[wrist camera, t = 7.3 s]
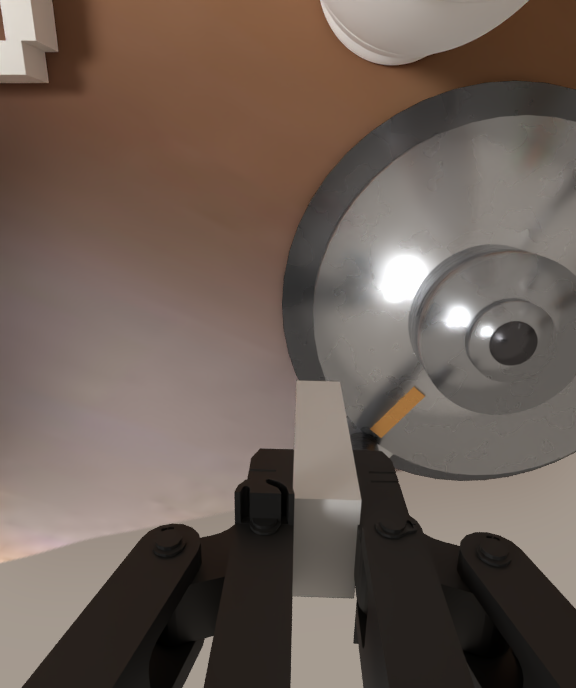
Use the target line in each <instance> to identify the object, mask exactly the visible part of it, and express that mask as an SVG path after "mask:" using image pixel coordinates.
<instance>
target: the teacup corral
mask: <svg viewBox="0 0 576 688" xmlns="http://www.w3.org/2000/svg"><path fill="white" fill-rule="evenodd" d="M0 4H1V11H2V17H3V24H4V30H5V37H6V41H0V83H49V80H48V72H47V65H46V57H45V52H59V51H58V43H57V35H56V27H55V19H54V11H53V3H52V0H0Z"/></svg>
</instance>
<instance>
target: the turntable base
mask: <svg viewBox="0 0 576 688" xmlns="http://www.w3.org/2000/svg"><path fill="white" fill-rule="evenodd" d="M520 115H534V116H547V117H557V118H561V119H566V120H570V121H574V122H576V90H575V89H570V88H566V87H562V86H557V85H553V84H549V83H540V82H527V81H504V82H490V83H482V84H477V85H472V86H468V87H463V88H458V89H454V90H451V91H448V92H445V93H442V94H440V95H437V96H434V97H431V98H428V99H426V100H423V101H421V102H419V103H417V104H415V105H414V106H412V107H410V108H408V109H406V110H404V111H402V112H400V113H398V114H396V115H395V116H393V117H392V118H390V119H389V120H387V121H386V122H384V123H383V124H382V125H380V126H379V127H377V128H376V129H374V130H373V131H371V132H370V133H369V134H368V135H366V136H365V137H364V138H363V139H362V140H361V141H360V142H359V143H357V144H356V145H355V146H354V147H353V148H352V149H351V150H350V151H349V152H347V153H346V155H345V156H344V157H343V158H342V159H341V160H340V161H339V163H338V164H337V165H336V166H335V167H334V168H333V170H332V171H331V172H330V173H329V174H328V175H327V177H326V178H325V180H324V181H323V183H322V184H321V186H320V187H319V189H318V190H317V192H316V193H315V195H314V196H313V198H312V199H311V201H310V203H309V205H308V207H307V209H306V211H305V213H304V215H303V217H302V219H301V221H300V223H299V225H298V228H297V231H296V234H295V237H294V239H293V242H292V245H291V248H290V251H289V256H288V261H287V266H286V271H285V275H284V284H283V298H282V310H283V326H284V333H285V338H286V343H287V348H288V353H289V356H290V358H291V361H292V364H293V367H294V370H295V373H296V375H297V377H298V379H299V381H326V379H325V376H324V373H323V370H322V367H321V364H320V361H319V358H318V353H317V348H316V342H315V337H314V318H313V300H314V289H315V281H316V277H317V272H318V268H319V264H320V260H321V257H322V255H323V252H324V249H325V247H326V244H327V241H328V239H329V237H330V235H331V233H332V231H333V229H334V227H335V225H336V223H337V221H338V220H339V218H340V216H341V215H342V213H343V212H344V210H345V209H346V208H347V206H348V205H349V203H350V202H351V200H352V199H353V198H354V196H355V195H356V194H357V193H358V192H359V191H360V190H361V189H362V187H363V186H364V185H365V184H366V183H367V182H368V181H369V180H370V179H371V178H372V177H373V176H374V175H375V174H376V173H377V172H379V171H380V170H381V169H382V168H383V167H384V166H385V165H387V164H388V163H389V162H390V161H392V160H393V159H395V158H396V157H398V156H399V155H401V154H402V153H404V152H405V151H407V150H408V149H409V148H411V147H413V146H415V145H417V144H419V143H421V142H423V141H425V140H427V139H429V138H431V137H433V136H435V135H437V134H440V133H443V132H446V131H449V130H451V129H454V128H457V127H460V126H463V125H466V124H469V123H472V122H477V121H482V120H487V119H492V118H497V117H505V116H520ZM575 452H576V451H575ZM575 452H572V453H570V454H573V453H575ZM570 454H568V455H566V456H564V457H567V456H569V455H570ZM564 457H562V458H560V459H557V460H554V461H552V462H549V463H546V464H544V465H541V466H537V467H533V468H529V469H525V470H521V471H517V472H510V473H503V474H495V475H466V474H454V473H448V472H443V471H438V470H433V469H429V468H426V467H423V466H420V465H417V464H414V463H411V462H409V461H407V460H405V459H403V458H401V457H399V456H396V455H394V454H393V455H392V456H391V457H390V459H391V460H392V462H393V466H394V468H396V469H399V470H402V471H405V472H409V473H412V474H415V475H420V476H425V477H430V478H435V479H445V480H458V481H469V480H487V479H495V478H502V477H509V476H513V475H517V474H520V473H525V472H528V471H532V470H535V469H538V468H541V467H543V466H546V465H549V464H552V463H554V462H557V461H559V460H561V459H563V458H564Z"/></svg>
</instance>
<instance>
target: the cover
mask: <svg viewBox="0 0 576 688" xmlns="http://www.w3.org/2000/svg"><path fill="white" fill-rule="evenodd" d="M408 332H409V338H410V343H411V346H412V348H413V351H414V353H415V355H416V357H417V358H418V360H419V362H420V363H421V365H422V367H423V368H424V370H425V371H426V373H427V375H428V376H429V378H430V379H431V381H432V383H433V384H434V385H435V387H436V388H437V389H438V390H439V391H440V392H441V393H442V394H443V395H444V396H445V397H446V398H447V399H449V400H450V401H451V402H453V403H455V404H456V405H458V406H460V407H462V408H465V409H467V410H470V411H473V412H477V413H481V414H490V415H504V414H513V413H517V412H522V411H525V410H528V409H531V408H534V407H536V406H538V405H540V404H542V403H544V402H546V401H548V400H549V399H551V398H552V397H554V396H555V395H557V394H558V393H559V392H560V391H562V390H563V389H564V388H565V387H566V386H567V385H568V384H569V383H570V382H571V381H572V380H573V379H574V377H575V376H576V276H575V275H574V274H573V273H572V272H571V271H570V270H568V269H567V268H566V267H564V266H563V265H561V264H559V263H558V262H556V261H553V260H551V259H549V258H546V257H543V256H540V255H537V254H534V253H531V252H528V251H525V250H522V249H519V248H516V247H512V246H508V245H500V244H486V245H479V246H474V247H471V248H467V249H464V250H462V251H459V252H457V253H455V254H453V255H451V256H450V257H448V258H446V259H445V260H443V261H442V262H441V263H439V264H438V265H437V266H436V267H435V268H434V269H433V270H432V271H431V272H430V273H429V274H428V275H427V276H426V277H425V279H424V280H423V281H422V283H421V284H420V286H419V288H418V289H417V291H416V293H415V295H414V298H413V301H412V304H411V306H410V311H409V317H408Z"/></svg>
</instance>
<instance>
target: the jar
mask: <svg viewBox="0 0 576 688" xmlns="http://www.w3.org/2000/svg"><path fill="white" fill-rule="evenodd" d="M528 1H529V0H320V2H321V6H322V9H323V12H324V15H325V17H326V19H327V22H328V24H329V25H330V27H331V29H332V30H333V32H334V33H335V35H336V36H337V38H338V39H339V40H340V41H341V42H342V43H343V44H344V45H345V46H346V47H347V48H348V49H349V50H350V51H352V52H353V53H355V54H356V55H358V56H359V57H361V58H363V59H365V60H368V61H370V62H373V63H377V64H382V65H402V64H408V63H411V62H415V61H417V60H420V59H422V58H424V57H426V56H428V55H432V54H435V53H439V52H444V51H447V50H451V49H454V48H457V47H459V46H462V45H464V44H466V43H469V42H471V41H473V40H475V39H477V38H479V37H481V36H482V35H484V34H486V33H488V32H489V31H491V30H492V29H494V28H495V27H497V26H498V25H500V24H501V23H503V22H504V21H505V20H507V19H508V18H509V17H510V16H512V15H513V14H514V13H515V12H517V11H518V10H519V9H520V8H521V7H522V6H523V5H525V4H526V3H527V2H528Z"/></svg>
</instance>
